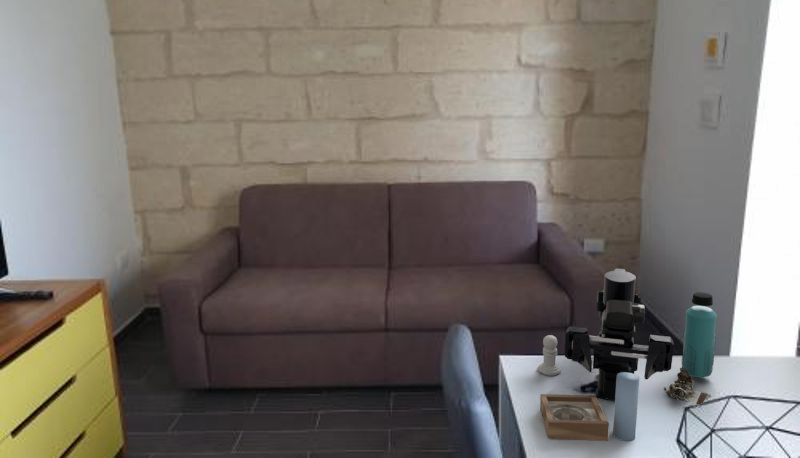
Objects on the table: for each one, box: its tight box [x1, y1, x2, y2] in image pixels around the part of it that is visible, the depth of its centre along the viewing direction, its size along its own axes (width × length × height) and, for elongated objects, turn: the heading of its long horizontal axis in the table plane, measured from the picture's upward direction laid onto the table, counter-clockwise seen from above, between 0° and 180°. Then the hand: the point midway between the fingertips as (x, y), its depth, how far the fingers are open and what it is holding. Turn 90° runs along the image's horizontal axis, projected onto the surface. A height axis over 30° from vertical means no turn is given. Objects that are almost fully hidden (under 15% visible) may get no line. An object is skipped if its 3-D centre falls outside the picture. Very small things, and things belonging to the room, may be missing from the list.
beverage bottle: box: [680, 291, 718, 378], centre depth 136 cm, size 6×7×20 cm
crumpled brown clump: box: [663, 367, 712, 409], centre depth 128 cm, size 12×6×11 cm
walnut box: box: [539, 393, 610, 442], centre depth 119 cm, size 11×11×4 cm
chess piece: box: [537, 334, 562, 377], centre depth 141 cm, size 5×5×9 cm
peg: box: [612, 372, 641, 442], centre depth 114 cm, size 4×4×12 cm
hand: (618, 373), depth 105 cm, fingers open, 9 cm apart
